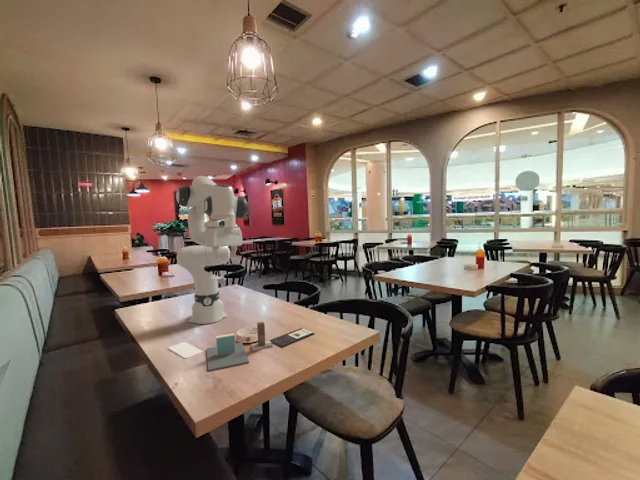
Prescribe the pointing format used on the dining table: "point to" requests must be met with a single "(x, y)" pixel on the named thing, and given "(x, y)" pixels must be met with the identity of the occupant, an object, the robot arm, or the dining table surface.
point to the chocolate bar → (291, 337)
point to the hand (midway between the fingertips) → (225, 257)
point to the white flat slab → (185, 350)
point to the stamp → (261, 338)
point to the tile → (225, 344)
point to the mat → (226, 358)
